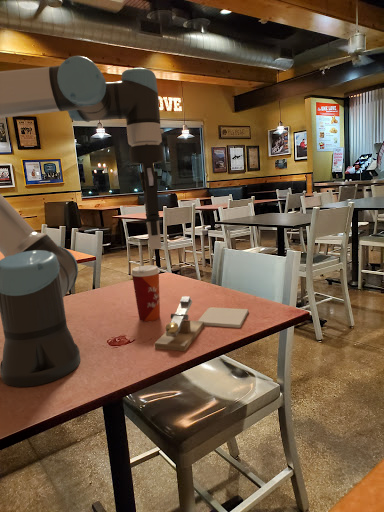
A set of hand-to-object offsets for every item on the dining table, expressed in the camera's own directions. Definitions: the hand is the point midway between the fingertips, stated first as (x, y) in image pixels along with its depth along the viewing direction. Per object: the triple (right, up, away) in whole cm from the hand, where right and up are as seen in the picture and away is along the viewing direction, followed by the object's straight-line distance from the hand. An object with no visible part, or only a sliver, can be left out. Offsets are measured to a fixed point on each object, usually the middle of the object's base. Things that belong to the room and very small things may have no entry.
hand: (155, 248), depth 86 cm
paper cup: (-3, -19, +13) cm, 23 cm away
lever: (+6, -16, -2) cm, 17 cm away
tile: (+17, -18, +9) cm, 26 cm away
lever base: (+6, -21, -1) cm, 22 cm away
